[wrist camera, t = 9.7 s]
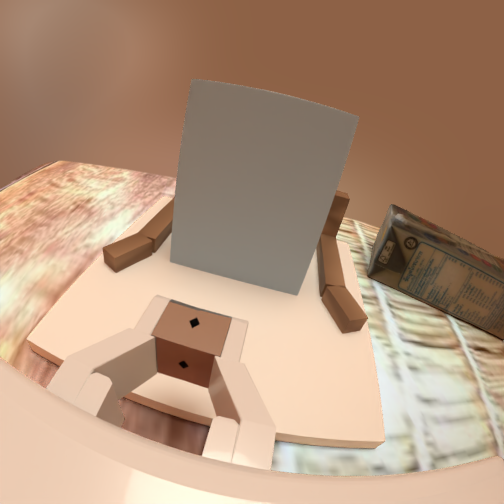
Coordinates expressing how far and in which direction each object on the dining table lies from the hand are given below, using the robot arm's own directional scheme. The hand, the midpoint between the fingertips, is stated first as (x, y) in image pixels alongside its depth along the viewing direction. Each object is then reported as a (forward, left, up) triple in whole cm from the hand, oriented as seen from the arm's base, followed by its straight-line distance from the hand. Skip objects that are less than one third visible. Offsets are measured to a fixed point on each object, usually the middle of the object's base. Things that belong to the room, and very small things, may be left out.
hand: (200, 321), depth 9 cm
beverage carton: (-21, -16, -7) cm, 28 cm away
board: (0, -9, -6) cm, 11 cm away
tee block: (0, -13, -5) cm, 14 cm away
